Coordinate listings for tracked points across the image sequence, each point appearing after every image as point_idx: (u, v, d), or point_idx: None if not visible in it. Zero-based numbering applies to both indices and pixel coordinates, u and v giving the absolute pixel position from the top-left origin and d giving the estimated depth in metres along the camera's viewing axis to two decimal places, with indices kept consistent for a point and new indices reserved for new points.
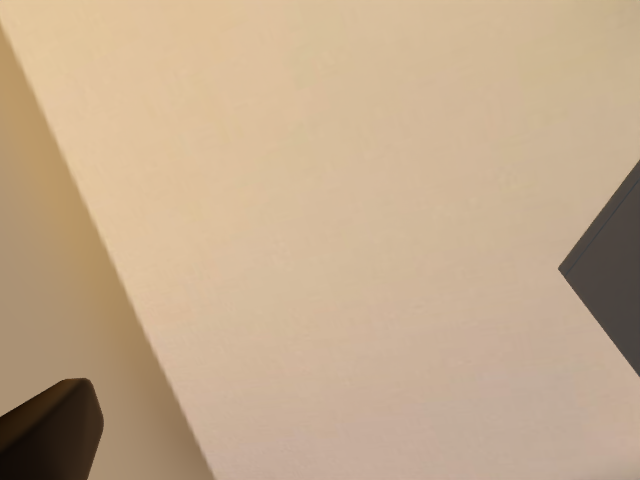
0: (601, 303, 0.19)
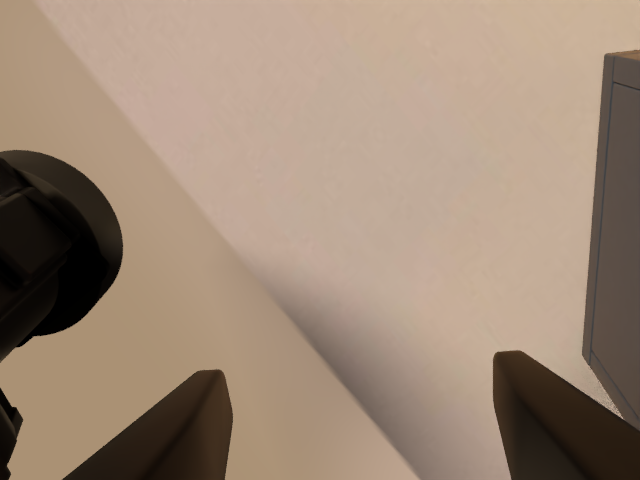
0: None
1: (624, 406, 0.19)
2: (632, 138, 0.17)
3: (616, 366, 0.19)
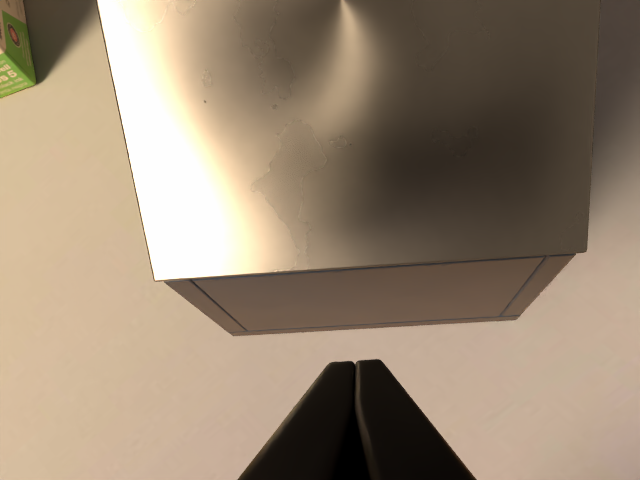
0: None
1: (524, 295, 0.19)
2: (273, 319, 0.21)
3: (489, 303, 0.20)
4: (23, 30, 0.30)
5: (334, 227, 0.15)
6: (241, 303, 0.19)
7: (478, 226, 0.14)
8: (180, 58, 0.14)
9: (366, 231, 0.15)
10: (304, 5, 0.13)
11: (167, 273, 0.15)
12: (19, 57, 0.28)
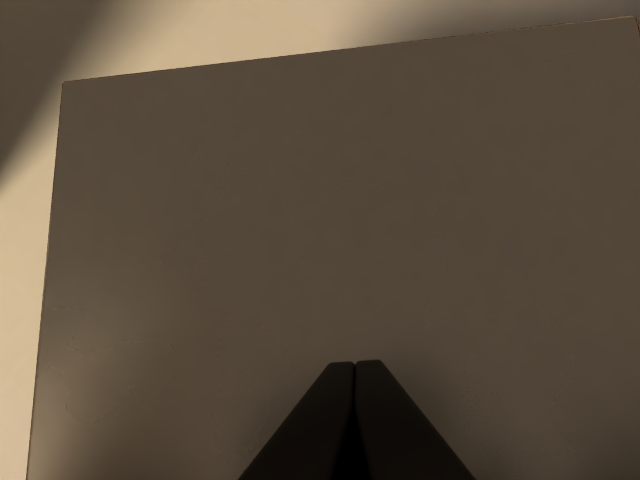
0: None
1: None
2: None
3: None
4: None
5: None
6: None
7: None
8: (126, 465, 0.09)
9: None
10: None
11: None
12: None
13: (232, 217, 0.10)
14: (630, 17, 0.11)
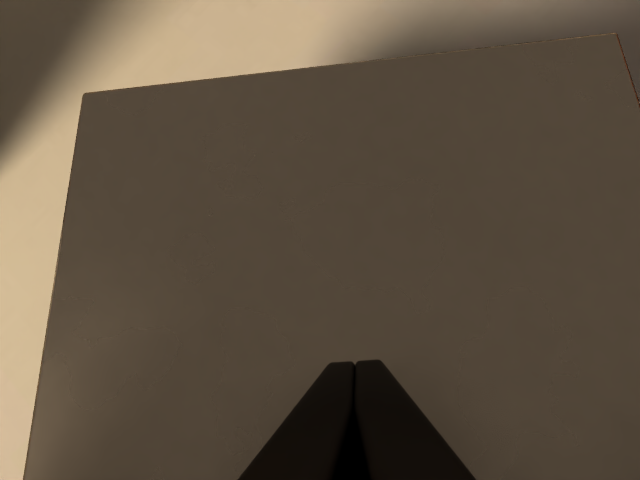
0: None
1: None
2: None
3: None
4: None
5: None
6: None
7: None
8: (126, 448, 0.09)
9: None
10: (308, 385, 0.10)
11: None
12: None
13: (238, 213, 0.11)
14: (612, 34, 0.12)
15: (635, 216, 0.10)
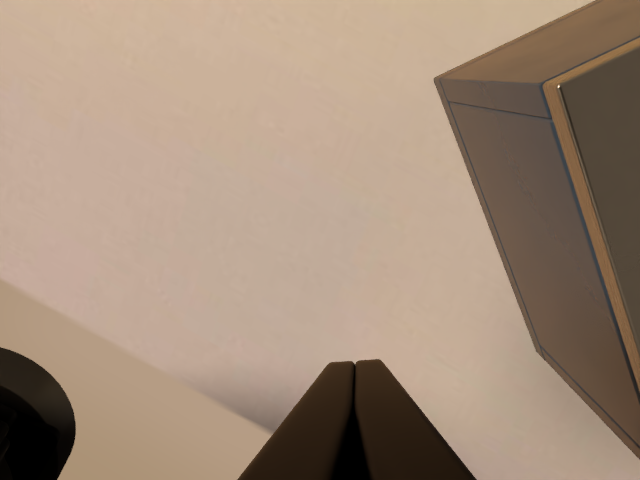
0: (484, 72, 0.16)
1: (583, 393, 0.19)
2: (480, 147, 0.17)
3: (561, 357, 0.19)
4: None
5: None
6: (507, 138, 0.15)
7: None
8: None
9: None
10: None
11: (575, 101, 0.11)
12: None
13: None
14: None
15: None
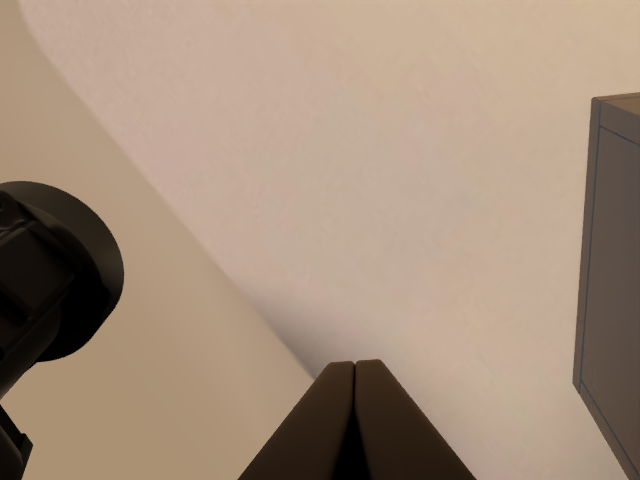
0: None
1: (612, 438, 0.19)
2: (618, 182, 0.17)
3: (604, 398, 0.20)
4: None
5: None
6: None
7: None
8: None
9: None
10: None
11: None
12: None
13: None
14: None
15: None
